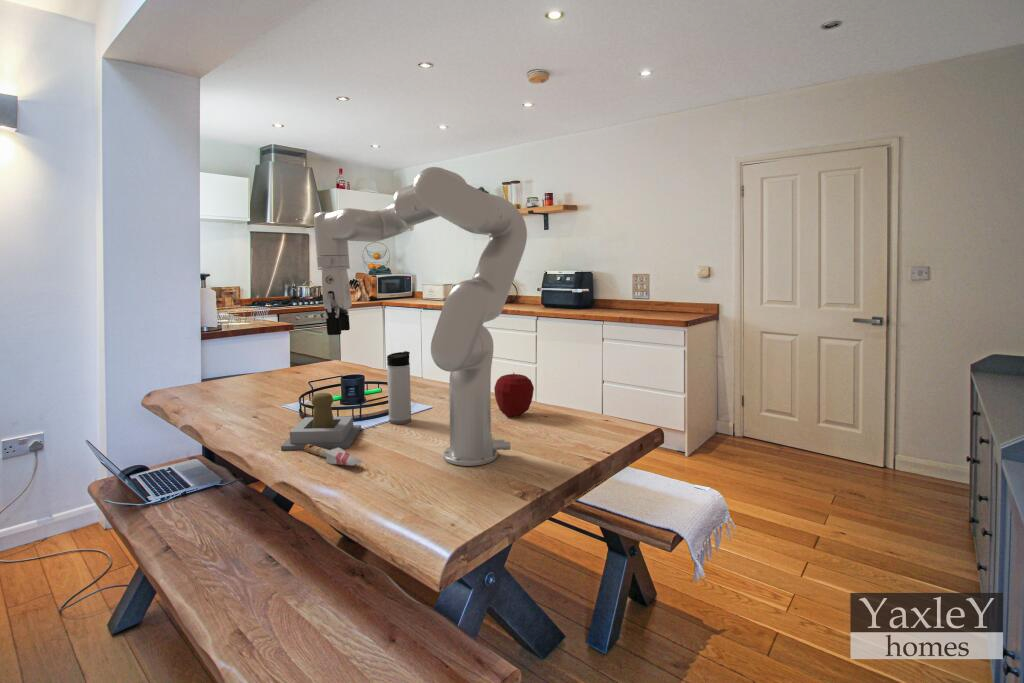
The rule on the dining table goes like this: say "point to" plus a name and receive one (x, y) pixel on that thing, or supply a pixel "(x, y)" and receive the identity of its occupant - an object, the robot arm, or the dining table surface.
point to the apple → (513, 394)
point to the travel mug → (399, 388)
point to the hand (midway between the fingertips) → (339, 332)
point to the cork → (322, 411)
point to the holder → (322, 434)
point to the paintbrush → (333, 455)
